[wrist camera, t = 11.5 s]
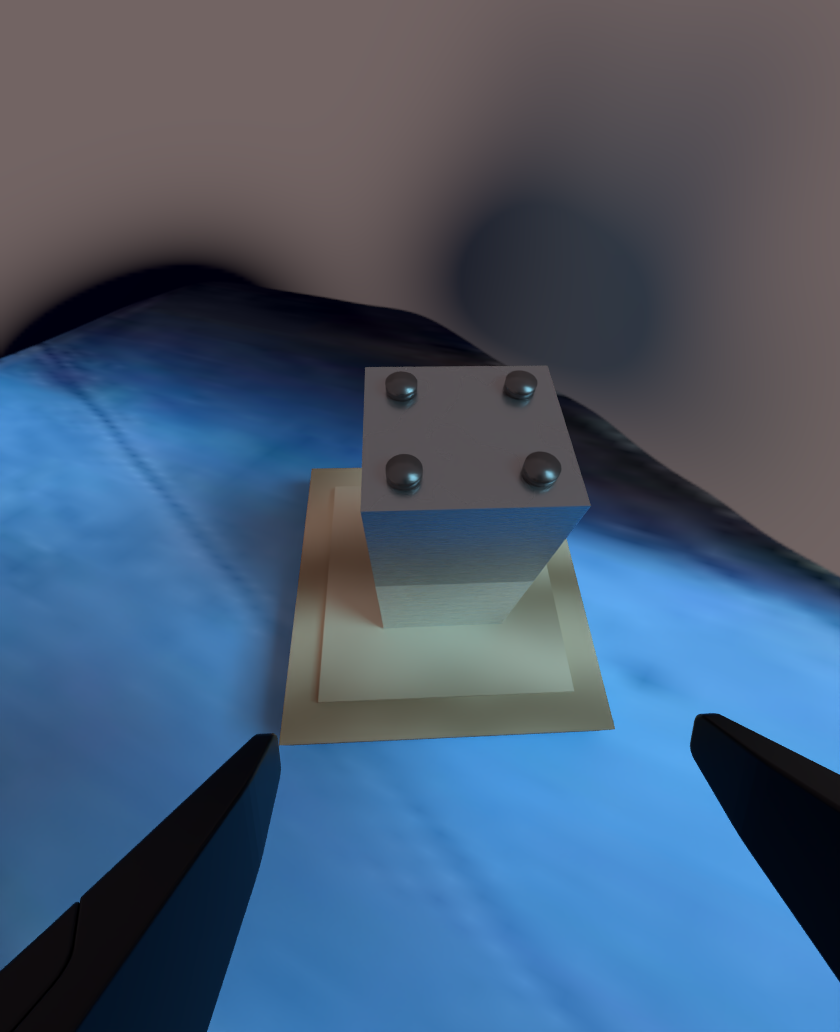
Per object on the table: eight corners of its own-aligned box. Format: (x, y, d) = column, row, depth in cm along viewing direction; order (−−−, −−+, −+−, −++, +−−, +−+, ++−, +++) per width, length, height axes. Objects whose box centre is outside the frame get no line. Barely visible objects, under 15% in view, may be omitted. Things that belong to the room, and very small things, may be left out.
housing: (501, 623, 19) (595, 498, 9) (383, 628, 18) (359, 504, 9) (487, 529, 21) (550, 357, 12) (383, 532, 21) (364, 358, 12)
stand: (595, 730, 18) (618, 728, 16) (291, 745, 18) (276, 744, 16) (538, 483, 26) (548, 461, 24) (318, 488, 25) (310, 465, 23)
